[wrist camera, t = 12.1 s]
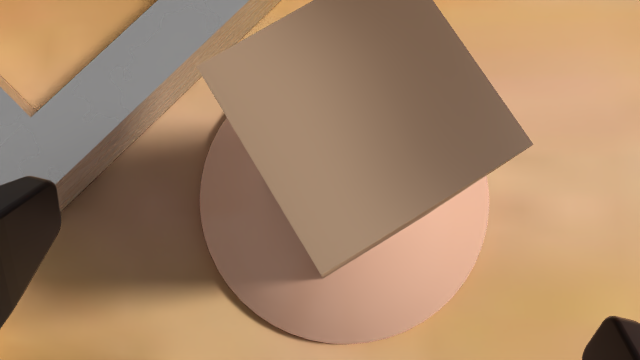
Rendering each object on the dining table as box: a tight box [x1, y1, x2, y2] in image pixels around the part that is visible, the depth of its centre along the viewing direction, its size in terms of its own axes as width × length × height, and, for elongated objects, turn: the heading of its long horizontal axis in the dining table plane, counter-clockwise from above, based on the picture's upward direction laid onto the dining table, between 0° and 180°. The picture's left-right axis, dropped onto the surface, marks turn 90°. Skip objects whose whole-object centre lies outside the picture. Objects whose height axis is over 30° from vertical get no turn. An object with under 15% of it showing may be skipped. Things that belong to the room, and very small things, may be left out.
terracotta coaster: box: [200, 118, 489, 344], centre depth 21 cm, size 11×11×1 cm
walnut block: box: [197, 0, 533, 278], centre depth 16 cm, size 4×4×11 cm
